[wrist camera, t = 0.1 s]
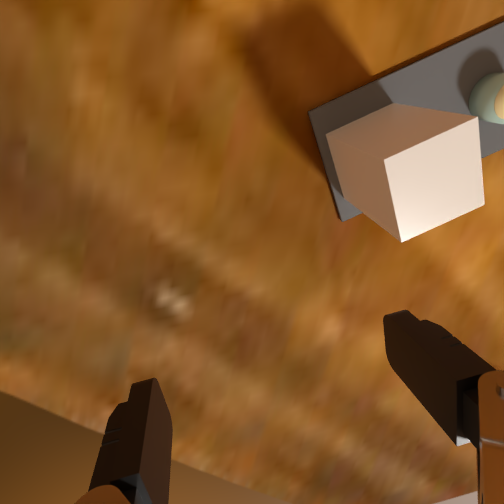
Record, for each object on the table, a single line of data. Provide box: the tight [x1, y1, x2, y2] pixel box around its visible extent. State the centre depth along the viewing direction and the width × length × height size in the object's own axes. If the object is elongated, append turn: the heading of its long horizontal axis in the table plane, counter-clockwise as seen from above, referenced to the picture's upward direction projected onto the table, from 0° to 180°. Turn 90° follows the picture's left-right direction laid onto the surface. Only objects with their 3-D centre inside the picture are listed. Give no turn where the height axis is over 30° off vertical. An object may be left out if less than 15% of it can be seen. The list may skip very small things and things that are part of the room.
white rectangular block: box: [326, 103, 485, 242], centre depth 29 cm, size 6×6×10 cm
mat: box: [308, 21, 504, 222], centre depth 33 cm, size 20×11×1 cm, turn 112°
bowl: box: [469, 72, 504, 124], centre depth 32 cm, size 4×4×3 cm
